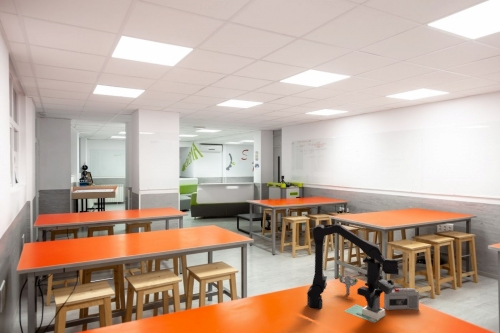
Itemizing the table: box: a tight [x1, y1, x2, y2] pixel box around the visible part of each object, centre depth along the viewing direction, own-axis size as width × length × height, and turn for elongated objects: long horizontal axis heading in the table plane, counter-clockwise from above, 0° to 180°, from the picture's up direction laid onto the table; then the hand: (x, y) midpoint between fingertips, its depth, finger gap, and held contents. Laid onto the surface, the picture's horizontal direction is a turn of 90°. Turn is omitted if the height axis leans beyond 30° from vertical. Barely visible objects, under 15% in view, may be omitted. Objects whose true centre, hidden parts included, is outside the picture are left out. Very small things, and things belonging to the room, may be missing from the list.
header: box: [362, 305, 386, 321], centre depth 146 cm, size 8×7×3 cm
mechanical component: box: [338, 274, 359, 295], centre depth 169 cm, size 3×10×10 cm, turn 43°
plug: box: [366, 295, 381, 312], centre depth 146 cm, size 4×4×6 cm
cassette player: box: [383, 287, 420, 311], centre depth 152 cm, size 16×3×10 cm, turn 94°
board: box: [343, 304, 387, 324], centre depth 147 cm, size 15×11×1 cm
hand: (373, 306), depth 146 cm, fingers closed on plug, 4 cm apart
